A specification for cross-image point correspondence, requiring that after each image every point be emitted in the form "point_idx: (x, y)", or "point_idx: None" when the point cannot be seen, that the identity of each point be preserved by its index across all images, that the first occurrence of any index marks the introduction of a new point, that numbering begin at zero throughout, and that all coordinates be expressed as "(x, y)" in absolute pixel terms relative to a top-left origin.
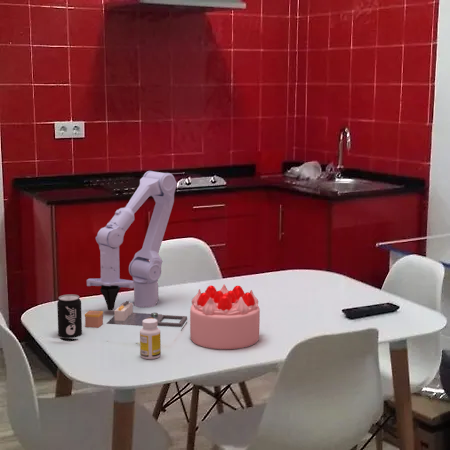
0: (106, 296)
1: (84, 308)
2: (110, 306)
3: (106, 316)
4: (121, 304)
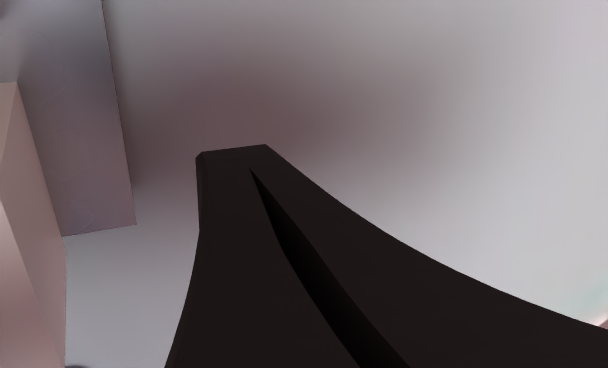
0: (398, 292)
1: (504, 253)
2: (233, 174)
3: (271, 122)
4: (20, 286)
